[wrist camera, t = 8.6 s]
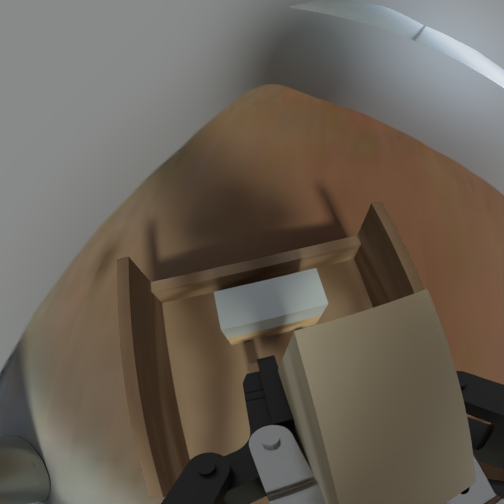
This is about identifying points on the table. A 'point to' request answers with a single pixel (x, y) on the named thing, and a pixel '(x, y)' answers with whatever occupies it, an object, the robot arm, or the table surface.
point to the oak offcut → (273, 331)
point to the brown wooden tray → (219, 348)
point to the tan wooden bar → (380, 406)
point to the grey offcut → (270, 303)
